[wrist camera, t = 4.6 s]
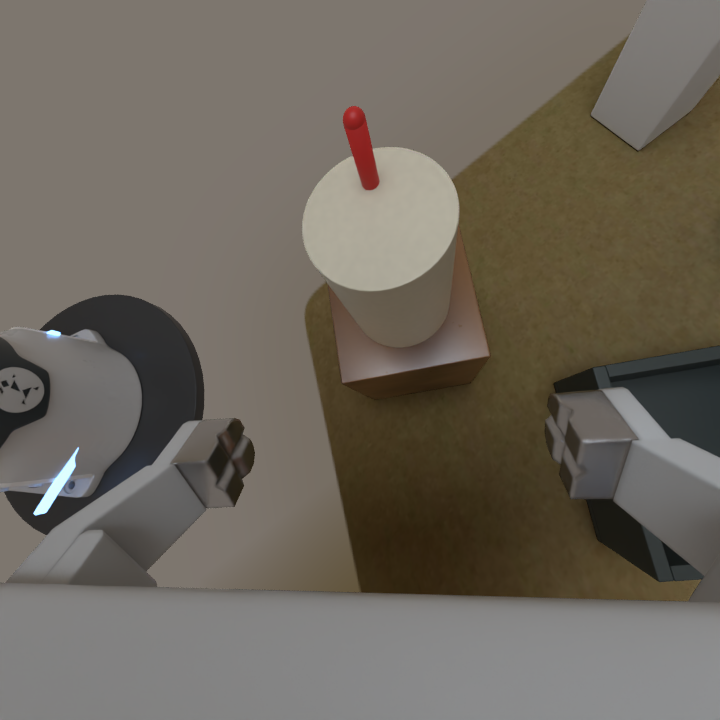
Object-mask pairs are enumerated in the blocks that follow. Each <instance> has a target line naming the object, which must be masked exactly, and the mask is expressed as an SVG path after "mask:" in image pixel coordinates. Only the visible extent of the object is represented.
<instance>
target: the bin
mask: <svg viewBox="0 0 720 720" xmlns="http://www.w3.org/2000/svg"><path fill="white" fill-rule="evenodd" d="M554 386H555V390H556V393H564V392H576V391H588V390H598V389H605V388H616V387H624V388H626V389H628V390H629V391H630V392H631V394H632V395H633V396H634V397H635V398H636V399H637V400H638V402H639V403H640V404H641V405H642V406H643V407H644V408H645V410H646V411H647V412H648V413H649V414H650V415H651V416H652V418H653V419H654V420H655V421H656V422H657V423H658V424H659V426H660V427H661V428H662V429H663V430H664V431H665V432H666V434H667V435H668V436H669V437H670V438H671V439H674V438H680V439H682V440H684V441H686V442H688V443H690V444H692V445H694V446H697V447H699V448H701V449H703V450H705V451H707V452H709V453H711V454H713V455H715V456H717V457H720V346H715V347H709V348H703V349H697V350H692V351H686V352H680V353H674V354H668V355H663V356H657V357H651V358H645V359H639V360H634V361H628V362H622V363H616V364H610V365H605V366H599V367H593V368H591V369H588V370H586V371H583V372H581V373H578V374H575V375H573V376H570V377H568V378H565V379H563V380H560V381H558V382H555V383H554ZM586 500H587V504H588V507H589V511H590V514H591V518H592V521H593V525H594V528H595V532H596V536H597V539H598V541H600V542H601V543H603V544H604V545H606V546H607V547H609V548H610V549H612V550H613V551H615V552H616V553H618V554H619V555H620V556H622V557H623V558H625V559H626V560H628V561H629V562H631V563H632V564H634V565H635V566H637V567H638V568H640V569H641V570H642V571H644V572H645V573H647V574H648V575H650V576H651V577H653V578H654V579H656V580H657V581H659V582H666V581H684V580H699V579H703V577H704V575H702V574H701V573H700V572H699V571H698V570H696V569H695V568H694V567H693V566H691V565H690V564H689V563H688V562H687V561H685V560H684V559H683V558H682V557H681V556H679V555H678V554H677V553H676V552H674V551H673V550H672V549H671V548H670V547H668V546H667V545H666V544H665V543H664V542H662V541H661V540H660V539H659V538H657V537H656V536H655V535H654V534H653V533H651V532H650V531H649V530H648V529H646V528H645V527H644V526H643V525H642V524H640V523H639V522H638V521H637V520H636V519H634V518H633V517H632V516H631V515H629V514H628V513H627V512H626V511H625V510H623V509H622V508H621V507H620V506H618V505H617V504H616V503H615V502H614V501H613V499H586Z"/></svg>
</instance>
